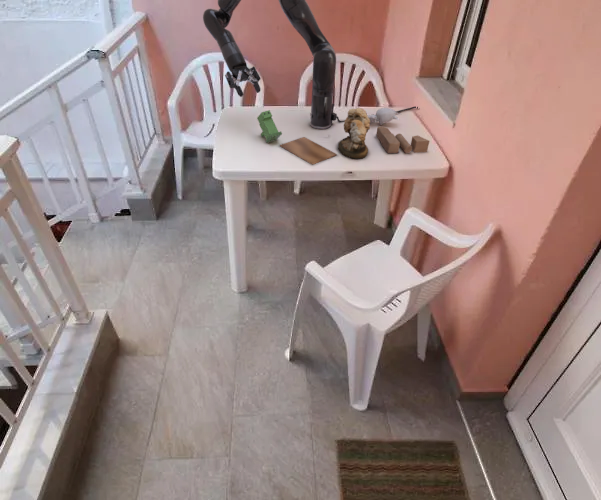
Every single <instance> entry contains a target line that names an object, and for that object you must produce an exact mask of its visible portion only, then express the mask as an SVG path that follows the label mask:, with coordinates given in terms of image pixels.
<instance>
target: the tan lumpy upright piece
mask: <svg viewBox="0 0 601 500" xmlns="http://www.w3.org/2000/svg"><path fill="white" fill-rule="evenodd" d="M367 115H368V113H367V111H366V110H365V109H364V108H362V107H356V108H350V109H349V110H348V111H347V116H346V118H345V120H343V121H344V122H343V130H344V133H345V134H348V135H347V136H346V137H344V138H342V139H341V140H340V141H339V142H338V145H337V148H338V151H339V152H340V154H342V155H343V156H344V157H346V158H349V159H352V160H362V159H365V158H366V157H367V156H368V154H369V148H368V146H367V145H366V137H367V133H368V132H369V131H370V126H371V125H370V123H371V122H370V119H369V118H368V116H367Z"/></svg>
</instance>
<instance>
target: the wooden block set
mask: <svg viewBox="0 0 601 500" xmlns="http://www.w3.org/2000/svg"><path fill="white" fill-rule="evenodd" d="M375 135H376V137H377V138H378V140H379V141H380V142H381V143H380V144H381V146H382V147H383V149H384V150H385V152H386V153H387V154H398V153H399V150H400V148H401V149H402V150H403V152H404V153H406V154H409V153H411V152H413V153H428V150H429V149H428V148H429V144H430V140H428V139H426V138H424V137H422V136H420V135H413V136H412V137H411V142H410V143H409V141H407V139H406V138H405V136H404V135H403V134H401V133H396V134H394V133H392V132H391V130H390V129H389V128H388V127H385V126H382V125H380V126H377V127H376V133H375Z"/></svg>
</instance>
